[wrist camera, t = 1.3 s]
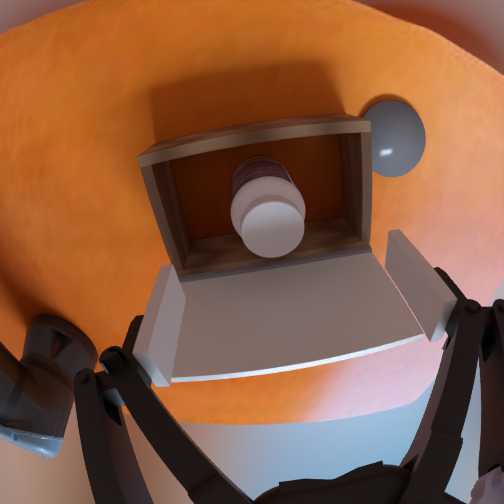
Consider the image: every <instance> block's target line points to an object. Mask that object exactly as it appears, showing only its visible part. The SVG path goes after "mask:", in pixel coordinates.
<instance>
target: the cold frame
mask: <svg viewBox="0 0 504 504" xmlns="http://www.w3.org/2000/svg"><path fill="white" fill-rule="evenodd" d="M328 134H339V138H340V153H341V171H342V198H343V217H336V218H329V219H323V220H316V221H309V222H304V234H303V237H302V240H301V241H300V243H299V244H298V246H297V247H296V248H295V249H294V250H292V251H291V252H289V253H288V254H286V255H283V256H280V257H274V258H269V257H262V256H259V255H257V254H255V253H253V252H252V251H250V250H249V249H248V248H247V246H246V245H245V244H244V242H243V239H242V237H241V236H240V235H239V234H238V233H234V234H228V235H222V236H216V237H210V238H204V239H198V240H193V241H191V239H190V235H189V232H188V228H187V225H186V221H185V218H184V214H183V211H182V207H181V204H180V200H179V196H178V193H177V189H176V185H175V181H174V178H173V174H172V170H171V166H170V162H169V160H172V159H176V158H181V157H185V156H190V155H194V154H199V153H204V152H209V151H214V150H219V149H224V148H230V147H236V146H241V145H247V144H254V143H260V142H267V141H274V140H282V139H289V138H298V137H307V136H317V135H328ZM138 161H139V165H140V168H141V172H142V175H143V179H144V182H145V185H146V189H147V192H148V195H149V199H150V202H151V205H152V208H153V211H154V214H155V218H156V221H157V224H158V227H159V230H160V233H161V236H162V239H163V242H164V244H165V247H166V250H167V253H168V256H169V259H170V261H171V264H173V266H174V268H175V271H176V274H177V277H178V276H185V275H191V274H198V273H204V272H211V271H217V270H224V269H230V268H237V267H243V266H249V265H256V264H262V263H268V262H274V261H281V260H287V259H293V258H299V257H305V256H311V255H317V254H323V253H329V252H335V251H341V250H347V249H353V248H359V247H364V246H370V235H371V214H372V143H371V123H370V121H369V120H366V119H363V118H359V117H356V116H352V115H349V114H333V115H319V116H307V117H297V118H288V119H279V120H271V121H264V122H257V123H250V124H244V125H238V126H232V127H227V128H221V129H216V130H211V131H206V132H202V133H197V134H192V135H188V136H184V137H179V138H175V139H171V140H167V141H163V142H159V143H156V144H154V145H153V146H151V147H150V148H149V149H147V150H146V151H144V152H143V153H142V154H140V155H139V156H138Z"/></svg>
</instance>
